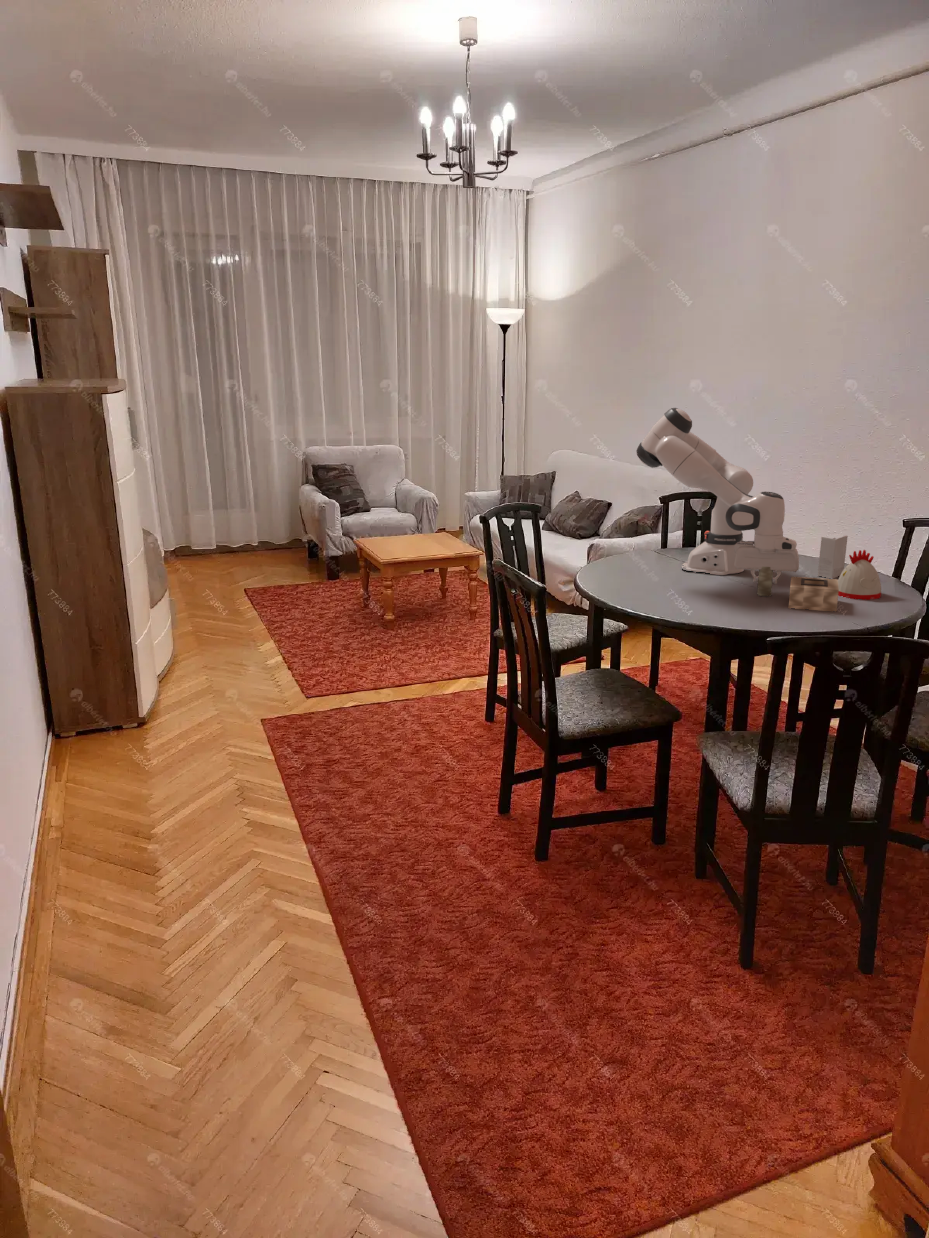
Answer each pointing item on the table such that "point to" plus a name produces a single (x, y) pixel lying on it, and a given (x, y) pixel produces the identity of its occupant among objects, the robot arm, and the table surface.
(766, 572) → the peg
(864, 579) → the kitchen timer
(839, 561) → the skincare box
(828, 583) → the birch holder
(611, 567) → the table surface
